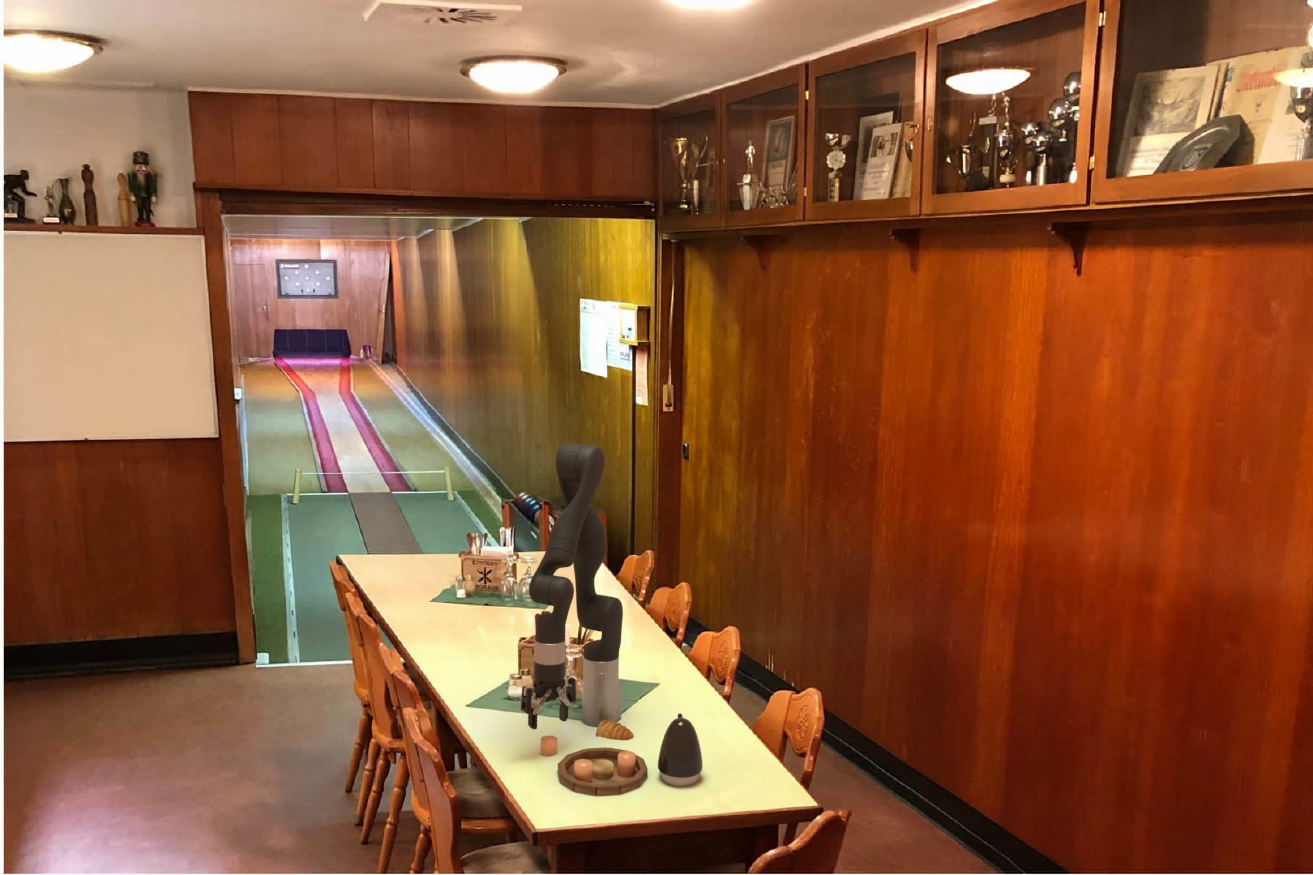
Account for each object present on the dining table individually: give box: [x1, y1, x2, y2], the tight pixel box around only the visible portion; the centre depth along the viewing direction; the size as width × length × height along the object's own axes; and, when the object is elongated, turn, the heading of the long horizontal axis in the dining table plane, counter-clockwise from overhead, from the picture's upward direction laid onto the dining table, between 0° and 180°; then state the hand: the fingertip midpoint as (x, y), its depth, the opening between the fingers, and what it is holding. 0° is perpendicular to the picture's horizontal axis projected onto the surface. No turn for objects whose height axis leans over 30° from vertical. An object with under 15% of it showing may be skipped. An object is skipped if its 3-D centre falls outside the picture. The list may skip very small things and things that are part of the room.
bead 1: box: [540, 735, 559, 757], centre depth 247 cm, size 4×4×4 cm
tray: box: [557, 746, 649, 797], centre depth 236 cm, size 20×20×4 cm
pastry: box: [595, 720, 635, 741], centre depth 258 cm, size 9×7×4 cm
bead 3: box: [618, 750, 636, 777], centre depth 237 cm, size 4×4×4 cm
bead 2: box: [574, 759, 592, 783], centre depth 232 cm, size 4×4×4 cm
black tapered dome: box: [657, 712, 704, 787], centre depth 234 cm, size 10×10×15 cm
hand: (548, 724), depth 245 cm, fingers open, 8 cm apart
